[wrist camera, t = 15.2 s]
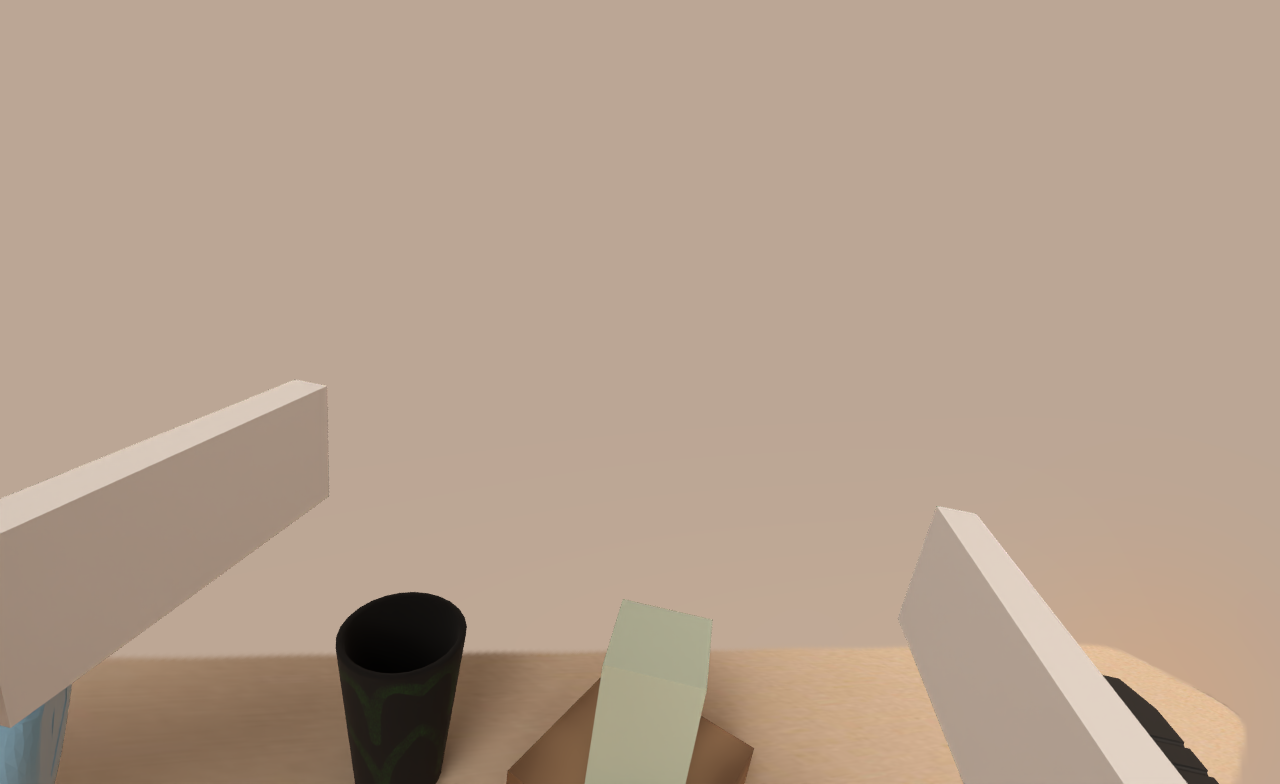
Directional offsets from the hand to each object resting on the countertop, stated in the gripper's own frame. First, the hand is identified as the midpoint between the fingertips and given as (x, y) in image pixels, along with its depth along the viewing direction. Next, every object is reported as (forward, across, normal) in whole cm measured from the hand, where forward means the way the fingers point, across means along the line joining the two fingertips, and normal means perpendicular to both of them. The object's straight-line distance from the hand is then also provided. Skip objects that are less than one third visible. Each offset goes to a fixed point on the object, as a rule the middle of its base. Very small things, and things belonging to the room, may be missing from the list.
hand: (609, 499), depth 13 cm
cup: (+18, -14, -34) cm, 41 cm away
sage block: (+19, +2, -29) cm, 35 cm away
